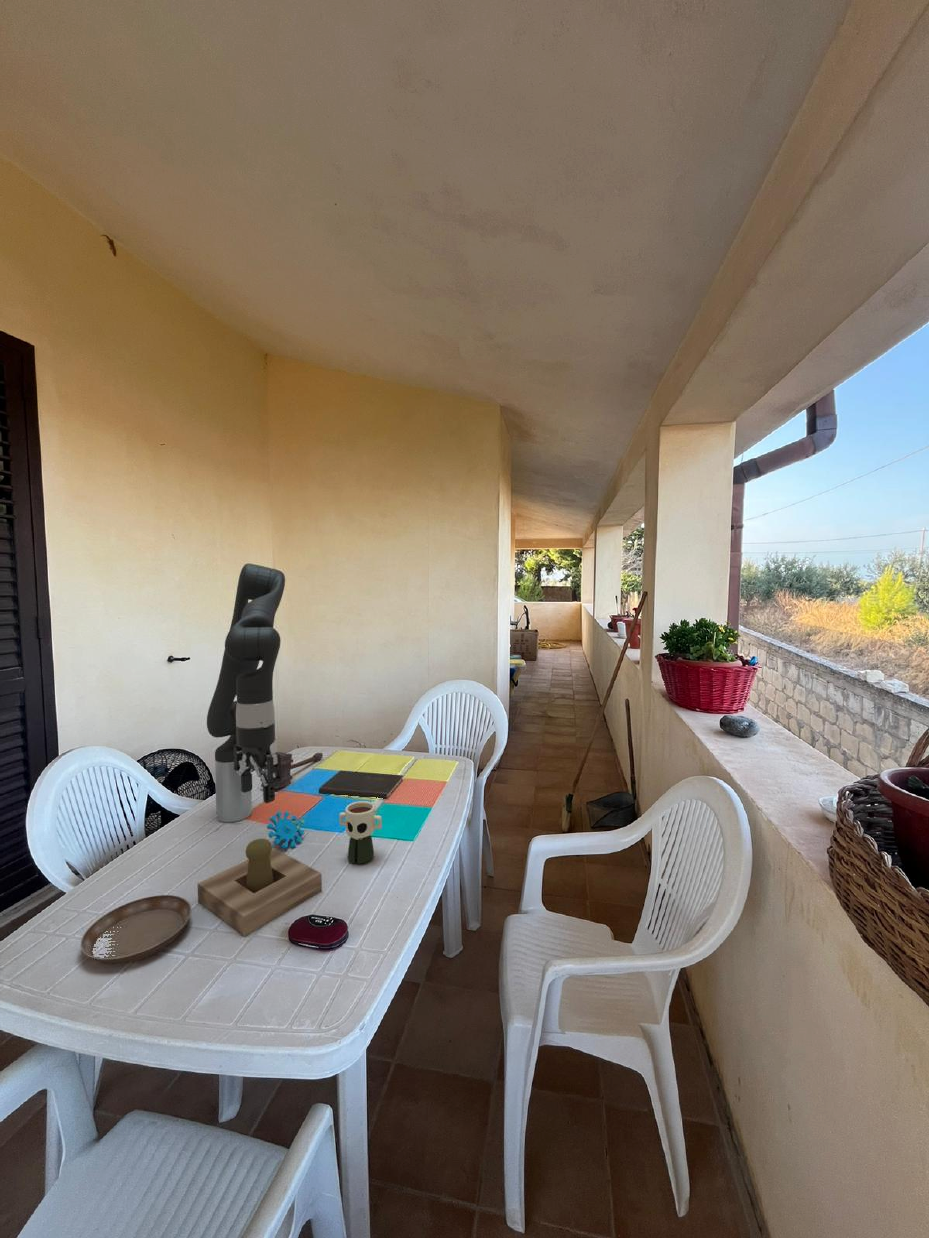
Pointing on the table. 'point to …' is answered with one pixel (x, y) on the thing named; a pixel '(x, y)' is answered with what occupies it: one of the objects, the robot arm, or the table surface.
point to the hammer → (290, 767)
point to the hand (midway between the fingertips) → (257, 796)
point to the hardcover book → (361, 784)
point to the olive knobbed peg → (259, 865)
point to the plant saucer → (138, 928)
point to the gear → (285, 829)
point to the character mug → (360, 829)
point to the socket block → (259, 893)
